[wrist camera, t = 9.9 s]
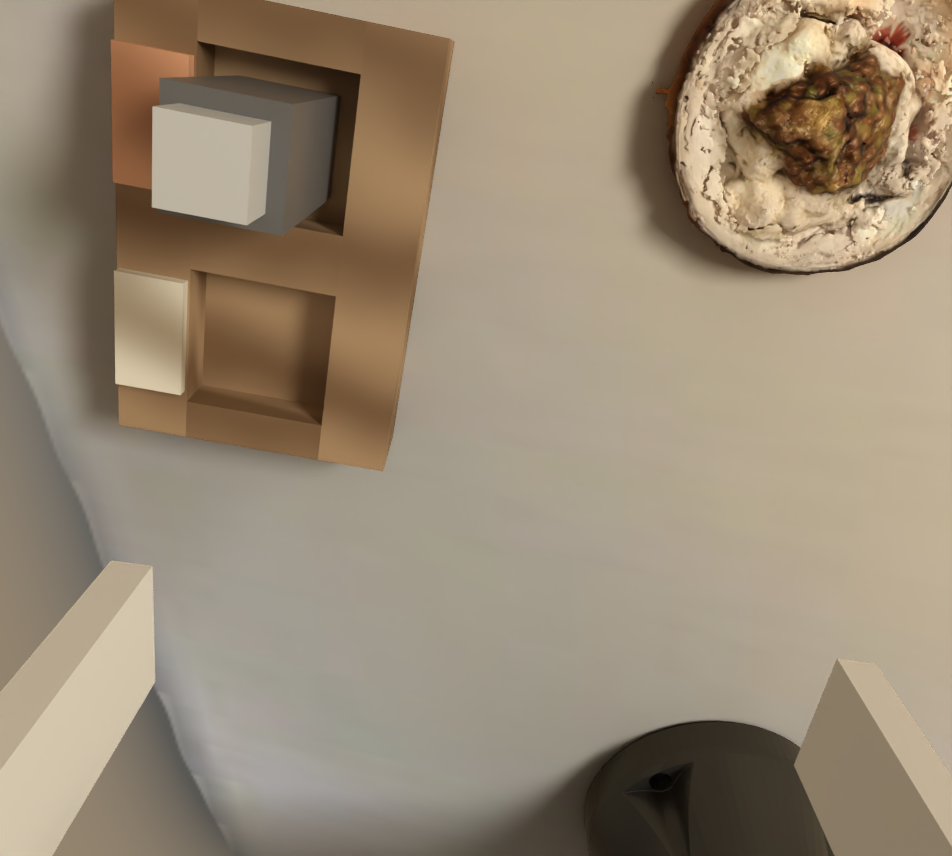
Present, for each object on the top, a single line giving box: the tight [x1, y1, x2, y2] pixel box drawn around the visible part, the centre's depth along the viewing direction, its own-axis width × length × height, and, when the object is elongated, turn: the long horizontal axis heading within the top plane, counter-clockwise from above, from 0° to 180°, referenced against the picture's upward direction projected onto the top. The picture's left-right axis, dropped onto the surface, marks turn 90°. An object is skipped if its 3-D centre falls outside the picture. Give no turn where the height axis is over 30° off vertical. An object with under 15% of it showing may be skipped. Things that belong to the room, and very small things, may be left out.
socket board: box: [111, 0, 454, 471], centre depth 33 cm, size 18×12×4 cm, turn 169°
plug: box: [152, 75, 341, 236], centre depth 27 cm, size 4×4×10 cm
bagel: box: [652, 0, 952, 275], centre depth 30 cm, size 15×15×4 cm
